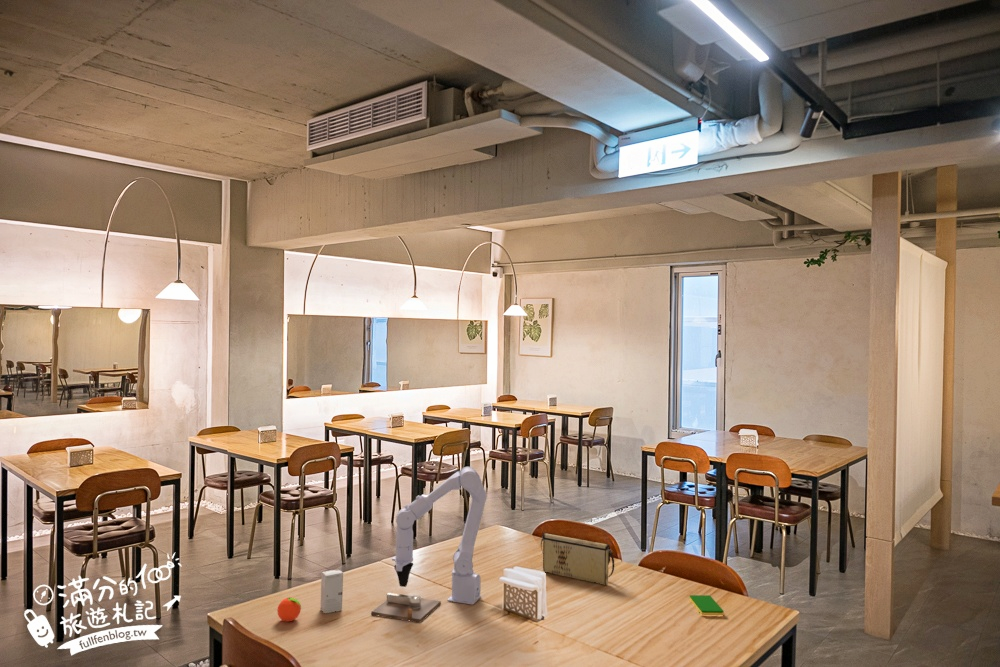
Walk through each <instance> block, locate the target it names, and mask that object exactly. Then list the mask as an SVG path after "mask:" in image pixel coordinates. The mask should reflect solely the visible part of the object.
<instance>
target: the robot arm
mask: <svg viewBox="0 0 1000 667" xmlns="http://www.w3.org/2000/svg"><path fill="white" fill-rule="evenodd" d="M461 487H462V488H463V489H464V490H465V491H467V492H468V493H469V495H470V496H471V501H470V504H469V505H470V506H469V509H468V512H467V516H466V519H465V524H464V527H463V532H462V536H461V539H460V542H459V544H458V548H457V550H456V551H455V552H454V554H453V555H452V559H453V563H454V566H453V569H452V570H451V572H452V573H451V595H450V596H449V597H448V598H447V601H448V602H452V601H453V602H455V603H460V604H467V605H474V604H475V603H476V602H477V601H478V600H480V598H482V595H481V588H482V587H481V586H482V585H481V582H482V579H481V575H480V574H478V573H476V572H474V569H473V568H474V563H473V558H474V548H475V543H476V539H477V537H478V536H477V535H478V531H479V529H480V524H481V520H482V517H483V512H484V509H485V505H486V500H487V497H488V495H487V492H486V490H485V487H484V485H483V482H482V479H481V477H480V474H479V473H478V472H477V471H476V469H475V468H474V467H471V466H465V467H464V466H463V467H462V468H461V469H460V470H458V471H457V472H455V473H453V474H452V475H451V476H449V477H448V478H447V479H446V480H444V481H443V482H442V483H441V484H439V485H438V486H437V487H435V489H434V490H432V491H431V492H430V493H429V494H421V495H419V494H418V495H417V496H415V499H414V500H413V501H412V502H411V503H409V504H405V506H404V508H401V509H400V510H399V511H398V512H397V514H396V516H395V517H396V533H395V556H393V557H392V558H391V561H392V562H394V563H395V564H394V566H393V567H394V570H395V572H396V574H397V580H398V584H399V587H400V588H401V587H402V588H403V587H405V588H406V587H407V585H408V583H409V578H410V574H411V571H412V568H413V567H414V566H413V565H414V563H413V562H414V557H413V555H414V554H413V553H414V552H413V550H414V549H413V548H414V530H413V525H414V523H415V521H417V520H419V519H420V518H422V517H423V516H424V515H425V514H426V513H429V511H430V510H432V509H433V505H434V503H435V502H436V501H438V500H439V499H441V498H442V497H444V496H445V495H447V494H448V493H450V492H451V491H452V490H459V491H460V490H462V488H461ZM453 602H452V603H453Z"/></svg>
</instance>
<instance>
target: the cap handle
mask: <svg viewBox="0 0 1000 667" xmlns="http://www.w3.org/2000/svg"><path fill="white" fill-rule="evenodd" d="M421 598H422V597H421V596H420V595H408V594H399V593H393V592H387V594H386V600H387V602H392V603H399V604H406V605H410V606H411V607H419V606H420V605H421Z"/></svg>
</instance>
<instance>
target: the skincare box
mask: <svg viewBox="0 0 1000 667" xmlns="http://www.w3.org/2000/svg"><path fill="white" fill-rule="evenodd" d="M320 580H321V582H320V584H321V585H320V586H321V587H320V607H319V608H320V610H322V611H323V612H324V613H325V614H330V613H335V611H336V612H341V611H342V610H343V591H344V588H343V587H344V572H343V571H342V570H340V569H334V570H333V569H332V570H327V571H321V578H320ZM322 611H321V612H322ZM323 612H322V613H323ZM324 613H323V614H324Z"/></svg>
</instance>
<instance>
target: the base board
mask: <svg viewBox="0 0 1000 667" xmlns="http://www.w3.org/2000/svg"><path fill="white" fill-rule="evenodd" d="M440 605H441V600H435V599H429V598H423V597H421V605H420V606H419V607H411V606H410V605H406V604H399V603H392V602H387V599H386V600H385V601H384V602H382V603H381V604H380V605H378V606H377V607H376V608H374V609H373V610H372V611H371V612H370V615H371V616H376V615H379V616H378V617H382V616H383V617H384V618H388V617H391V618H390V619H394V618H398V619H397V620H400V619H403V620H402V621H407V620H410V621H409V622H413V621H416V622H415V623H419V622H420V623H422V621H424V620H425V617H426V616H427V615H428V614H429V615H430V614H431V613H433V612H434V611H435V610H436V609H437V608H438V607H439V606H440ZM437 606H438V607H437ZM436 607H437V608H436ZM435 608H436V609H435ZM434 609H435V610H434ZM429 615H428V616H429ZM428 616H427V617H428ZM383 617H382V618H383ZM427 617H426V618H427Z"/></svg>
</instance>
